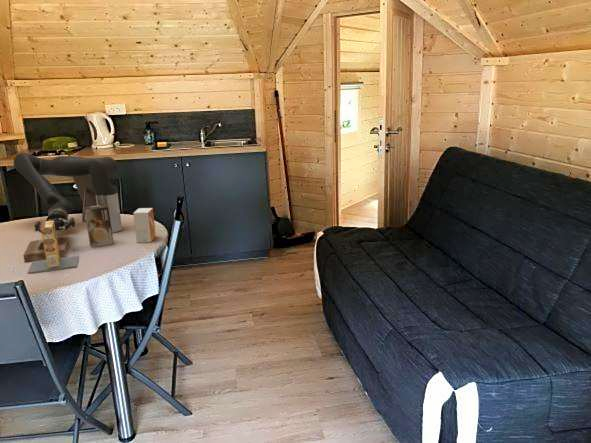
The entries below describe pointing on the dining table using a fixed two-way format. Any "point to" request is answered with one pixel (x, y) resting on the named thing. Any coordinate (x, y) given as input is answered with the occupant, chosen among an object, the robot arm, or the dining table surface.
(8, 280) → the dining table surface
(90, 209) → the coffee box
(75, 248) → the dining table surface
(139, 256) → the dining table surface
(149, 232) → the small box
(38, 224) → the robot arm
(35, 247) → the pocket board
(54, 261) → the candy box
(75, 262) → the slate mat
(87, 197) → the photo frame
